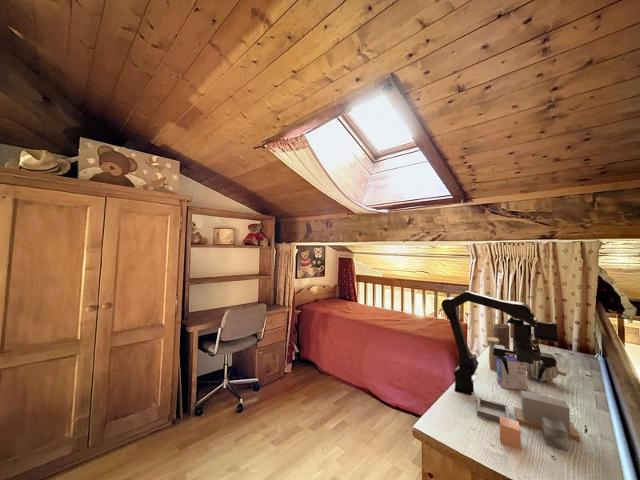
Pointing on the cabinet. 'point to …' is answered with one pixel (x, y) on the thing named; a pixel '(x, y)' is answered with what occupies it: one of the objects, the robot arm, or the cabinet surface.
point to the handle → (492, 357)
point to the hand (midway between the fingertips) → (522, 377)
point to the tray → (491, 409)
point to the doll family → (535, 343)
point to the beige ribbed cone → (548, 373)
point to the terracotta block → (510, 433)
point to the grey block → (555, 434)
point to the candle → (502, 334)
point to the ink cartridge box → (512, 374)
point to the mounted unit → (544, 412)
